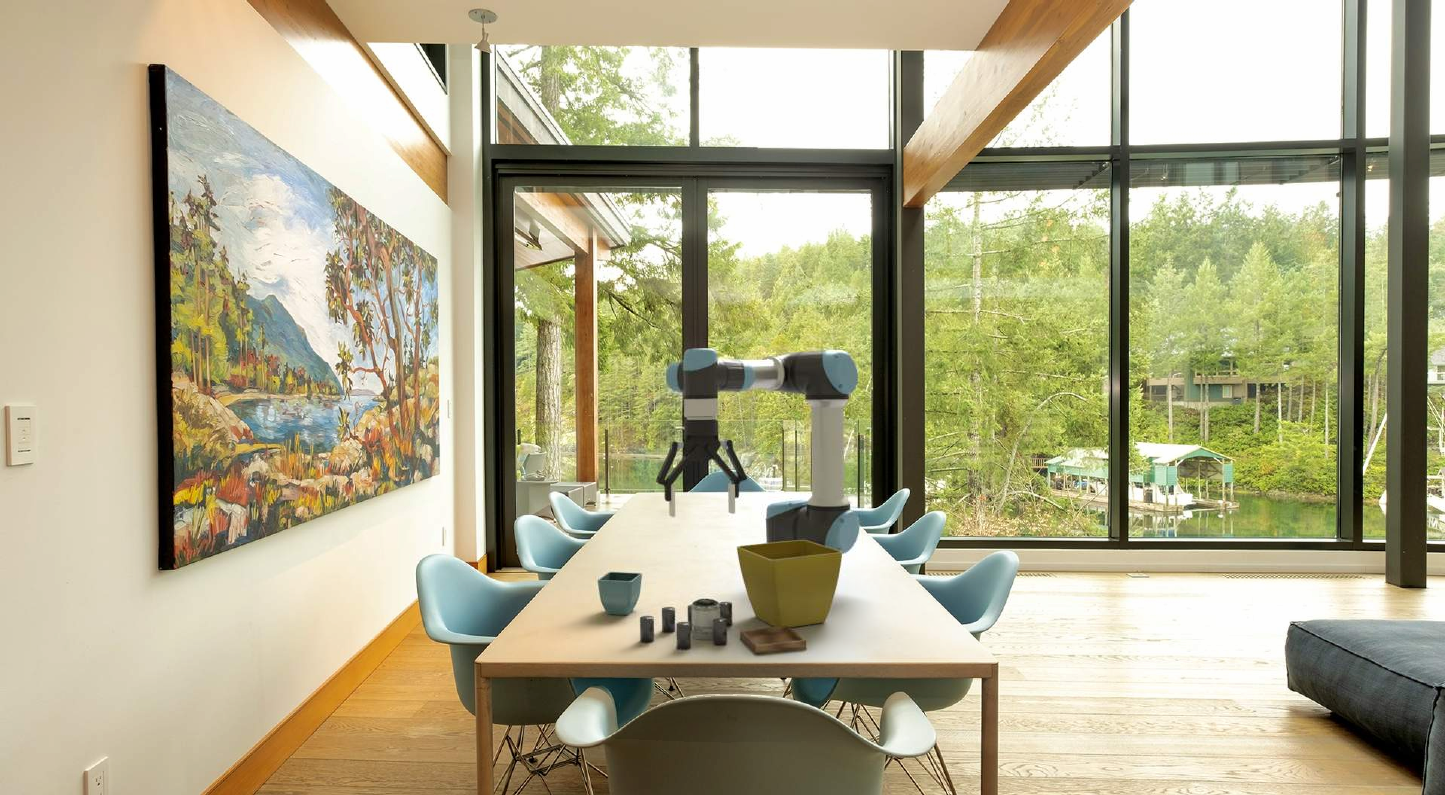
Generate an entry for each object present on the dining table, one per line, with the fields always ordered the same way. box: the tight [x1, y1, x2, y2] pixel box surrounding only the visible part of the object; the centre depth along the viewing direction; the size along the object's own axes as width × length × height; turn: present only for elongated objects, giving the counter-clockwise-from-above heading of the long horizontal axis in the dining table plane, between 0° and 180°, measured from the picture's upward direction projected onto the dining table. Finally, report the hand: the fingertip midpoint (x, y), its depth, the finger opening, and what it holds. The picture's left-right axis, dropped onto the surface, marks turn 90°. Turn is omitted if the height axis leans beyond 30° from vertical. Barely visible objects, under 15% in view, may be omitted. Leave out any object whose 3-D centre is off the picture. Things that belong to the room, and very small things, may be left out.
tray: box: [739, 626, 807, 656], centre depth 168 cm, size 11×11×2 cm
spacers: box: [639, 601, 733, 651], centre depth 174 cm, size 22×16×5 cm
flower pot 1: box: [597, 571, 643, 616], centre depth 194 cm, size 9×9×9 cm
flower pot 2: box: [736, 540, 843, 628], centre depth 186 cm, size 19×19×17 cm
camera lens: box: [690, 598, 720, 641], centre depth 174 cm, size 6×6×8 cm
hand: (702, 514), depth 174 cm, fingers open, 13 cm apart
